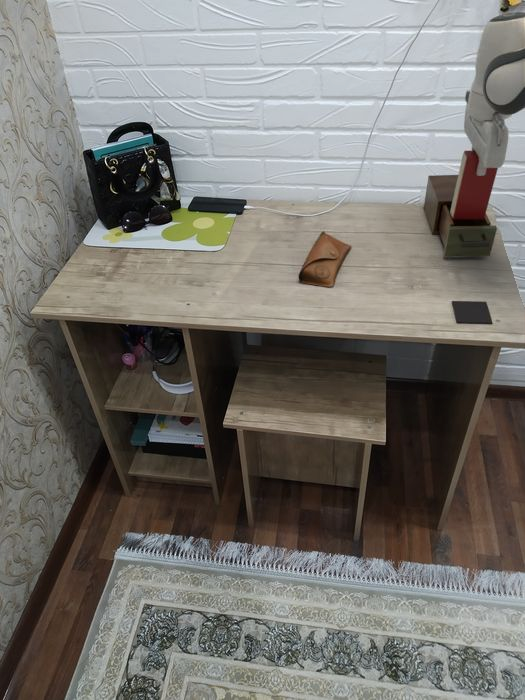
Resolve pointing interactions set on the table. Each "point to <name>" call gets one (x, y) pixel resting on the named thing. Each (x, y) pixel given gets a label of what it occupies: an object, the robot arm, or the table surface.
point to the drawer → (465, 235)
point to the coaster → (471, 312)
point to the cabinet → (438, 197)
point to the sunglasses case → (323, 261)
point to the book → (472, 189)
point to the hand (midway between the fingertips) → (477, 169)
